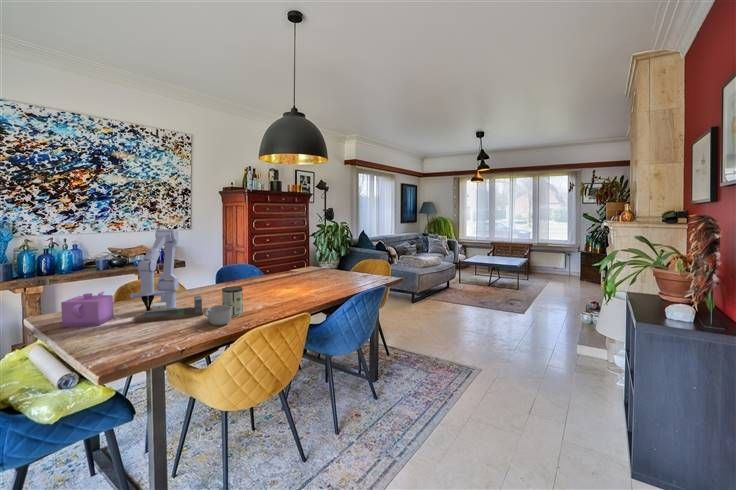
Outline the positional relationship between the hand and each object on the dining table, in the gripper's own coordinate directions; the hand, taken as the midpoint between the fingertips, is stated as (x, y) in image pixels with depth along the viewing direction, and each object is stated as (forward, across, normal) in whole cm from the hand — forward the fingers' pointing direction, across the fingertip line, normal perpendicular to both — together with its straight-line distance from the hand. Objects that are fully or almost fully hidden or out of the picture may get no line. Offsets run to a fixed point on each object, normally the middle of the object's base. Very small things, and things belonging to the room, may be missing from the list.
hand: (148, 310), depth 181 cm
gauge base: (+4, +10, 0) cm, 10 cm away
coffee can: (+4, +39, -10) cm, 40 cm away
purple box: (+4, -24, +5) cm, 25 cm away
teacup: (+4, +30, -23) cm, 38 cm away
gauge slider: (+2, +5, -1) cm, 5 cm away
